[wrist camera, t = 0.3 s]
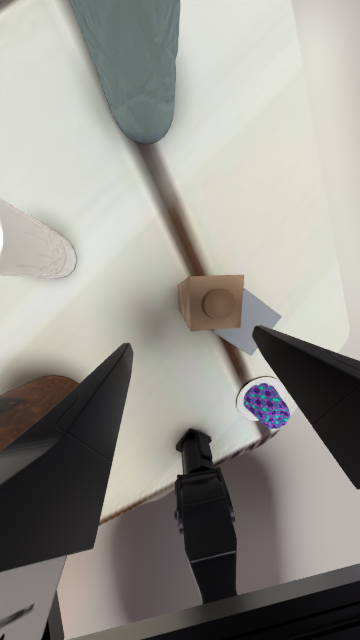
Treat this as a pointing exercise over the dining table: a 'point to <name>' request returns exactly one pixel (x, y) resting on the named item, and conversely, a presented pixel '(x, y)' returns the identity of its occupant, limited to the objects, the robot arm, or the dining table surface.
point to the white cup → (31, 247)
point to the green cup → (134, 60)
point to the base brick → (249, 323)
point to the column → (211, 301)
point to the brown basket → (30, 405)
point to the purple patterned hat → (264, 402)
